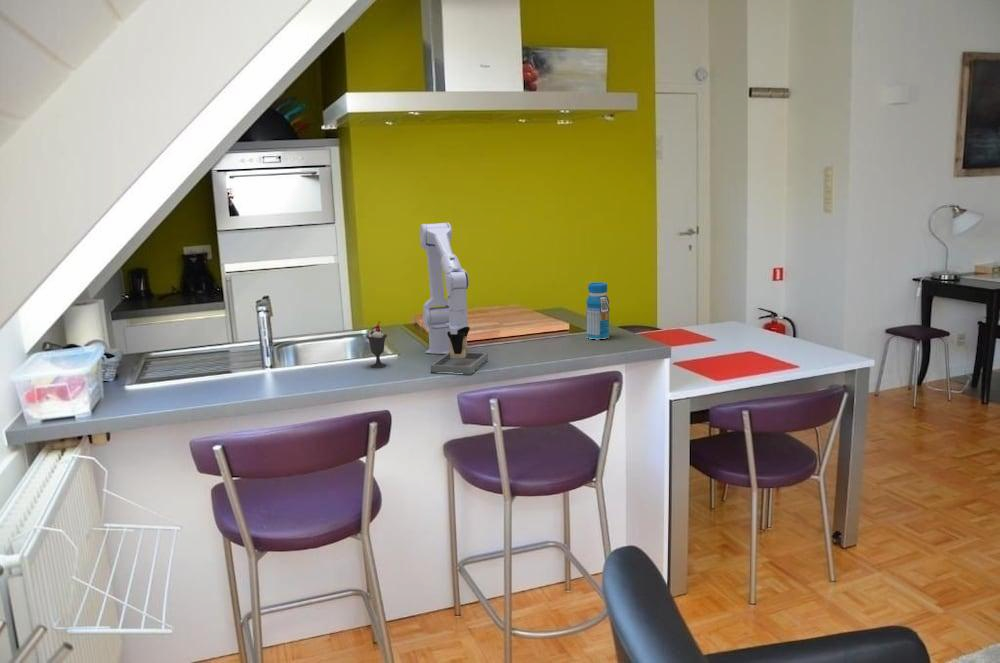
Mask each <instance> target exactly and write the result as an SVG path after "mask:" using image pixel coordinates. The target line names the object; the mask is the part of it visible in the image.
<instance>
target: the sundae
mask: <svg viewBox="0 0 1000 663" xmlns="http://www.w3.org/2000/svg"><path fill="white" fill-rule="evenodd" d="M380 323H381V321H378V323H377V325H376V326H374V327H371V329H370V333H369V334H366V335H365V337H366V338H367V339H368V343H369V346H370V347H369V348H370V351H371V353H372V354H373V355H374V356H375V359H376V360H375V363H374V364H371V365H370V367H371V368H374V369H380V368H379V367H381V368H385V367H386V366H387V364H386V363H383V362H381V359H380V358H381V355H382V354H383V353H384V351H385V341H386V337H388V335H387V334H386V333H384V332H383V330H382V328H381V326H380V325H379V324H380ZM384 366H385V367H384Z"/></svg>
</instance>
